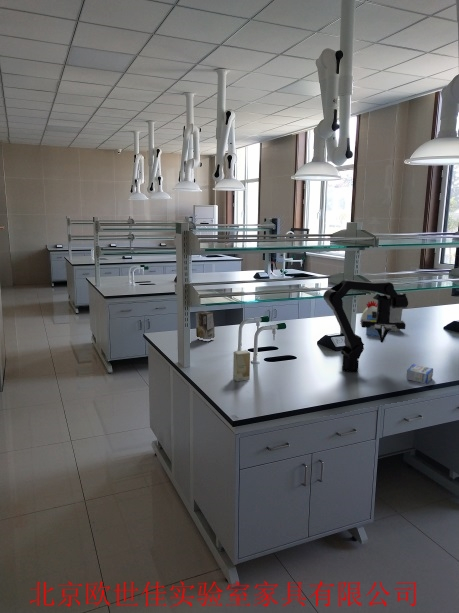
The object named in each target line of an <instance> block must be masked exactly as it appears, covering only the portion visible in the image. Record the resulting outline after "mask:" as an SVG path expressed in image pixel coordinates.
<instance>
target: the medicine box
mask: <svg viewBox="0 0 459 613" xmlns="http://www.w3.org/2000/svg"><path fill="white" fill-rule="evenodd" d="M433 375H434V368H432V367H428V366H423V365H419V364H415V363H413V364H411V366H409V367H408V368H407V369H406V376H405V377H406V380H410V381H413V382H418V383H422V384H426V385H427V384H428V383H429V382H430V380H432V379H433ZM431 378H432V379H431Z"/></svg>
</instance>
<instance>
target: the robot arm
mask: <svg viewBox="0 0 459 613" xmlns="http://www.w3.org/2000/svg"><path fill="white" fill-rule="evenodd" d="M394 286H395V285H394V284H393V283H392V282H390V281H386V280H377V281H376V280H375V281H372V282H371V281H361V280H353V279H352V280H349V279H342V280H341V281H339V283H337V284H335V285H333V286H332V287H330V289H327V290H325V291H324V292H323V296H322V297H323V300H324V302H325V303H326V304H327V305H328V307H330V309H331V310H332V313H334V314H333V315H334V316H335V319H336V320H337V323H338V326H339V328H340V329H341V332H342V333H343V336H344V340H343V341H344V346H343V347H342V348H341V349H340V354H341V355H342V365H341V370H342V372H352V373H353V372H354V373H358V370H359V361H360V360H359V359H360V357H361V355H362V353H363V351H364V350H365V347H364V346H365V343H364V342H363V339H362V337H361V336H359V335H358V334H356V333H355V332H354V330H353V328H352V325H351V324H350V321H349V318H348V317H347V314H346V312H345V310H344V307H343V306H344V305H343V304H344V302H343V298H344V297H346V296H347V294H348V292H349V291H350V290H355V291H356V290H357V291H367V292H375V293H376V295H375V296H373V297H372V299H373V300H375V301H377V302H376V304H377V307H376V308H377V312H374V311H372V318H373V319H376V322H372V321H371V320H370V319H362V320H361V319H360V320H361V323H360V326H361V328H362V329H363V328H365V329H366V328H369V327H370V326H374V329H375V330H377V331H378V334H379V336H378V337H379V340H380V343H381V344H383V343H384V341H385V338H386V336H387V335H388V333H389V332H392V331H391V330H392V329H391V327H392V326H393V327H397V328H398V329H400V330H406V323H405V321H404V320H401V321H398V320H395V322H390V309H391V307H392V308H393V309H395V308H403V309H406V308H408V306H409V299H408V297H407V294H406V293H405V292H400V293H398V292H397V291H396V290H395V287H394ZM381 294H382V295H381ZM381 326H384V327H383V331H382V329H381Z"/></svg>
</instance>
